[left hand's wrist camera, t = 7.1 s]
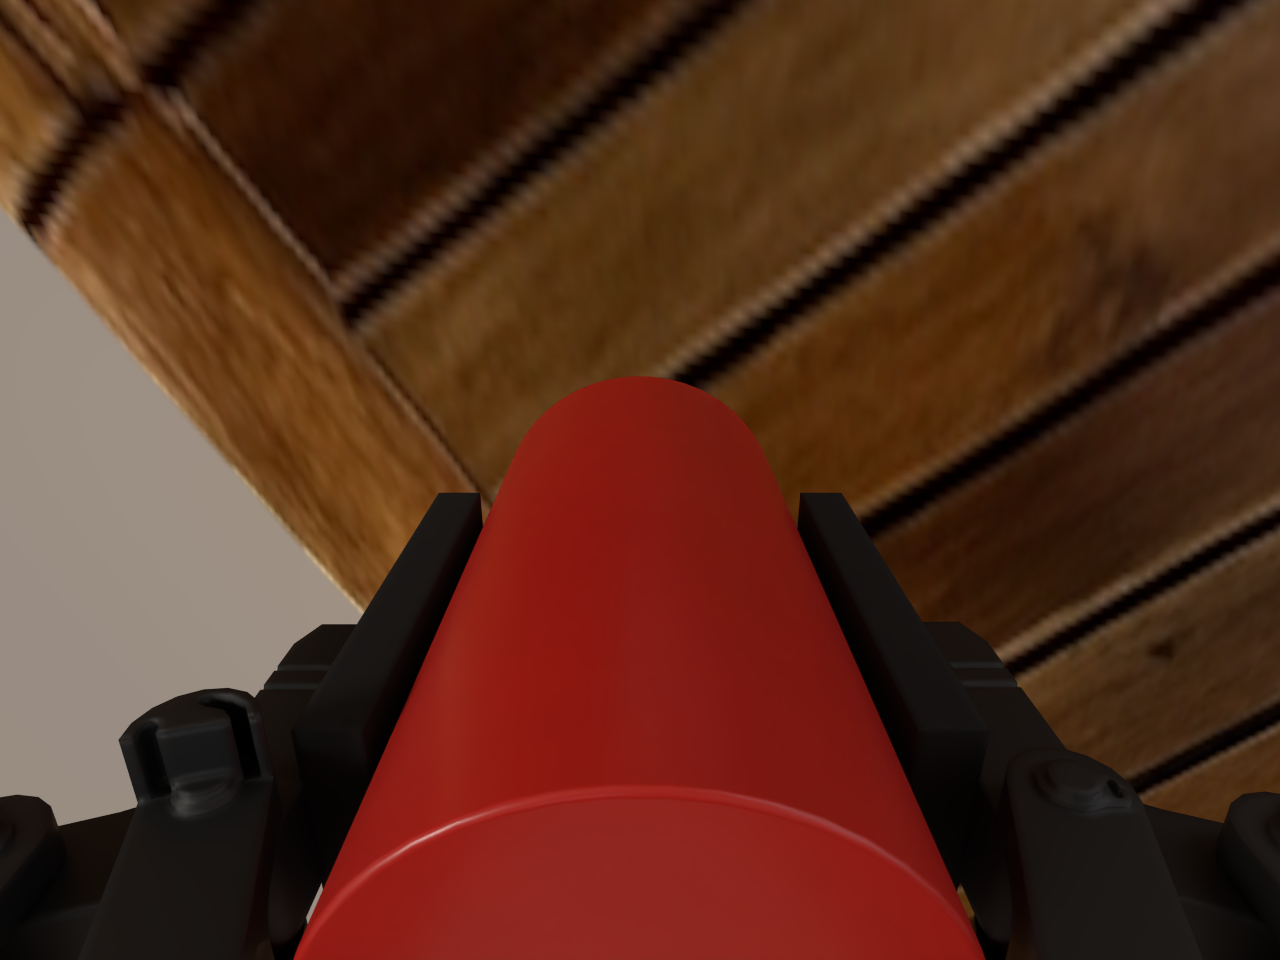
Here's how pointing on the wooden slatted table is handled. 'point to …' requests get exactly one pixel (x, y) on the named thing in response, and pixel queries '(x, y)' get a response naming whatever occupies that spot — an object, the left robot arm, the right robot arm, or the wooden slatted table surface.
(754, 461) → the red cylinder
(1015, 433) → the wooden slatted table surface
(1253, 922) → the left robot arm
